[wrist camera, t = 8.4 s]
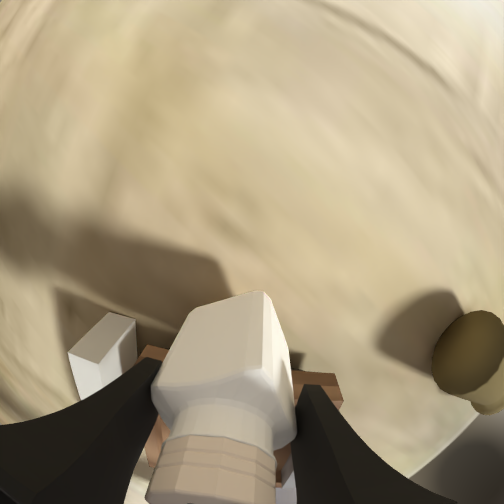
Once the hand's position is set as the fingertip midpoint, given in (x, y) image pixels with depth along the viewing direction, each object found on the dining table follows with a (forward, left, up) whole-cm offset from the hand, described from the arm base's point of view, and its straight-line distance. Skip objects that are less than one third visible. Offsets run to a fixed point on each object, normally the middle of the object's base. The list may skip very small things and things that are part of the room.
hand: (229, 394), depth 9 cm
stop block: (-8, +8, -7) cm, 13 cm away
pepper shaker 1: (0, 0, -5) cm, 5 cm away
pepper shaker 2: (0, -14, -4) cm, 15 cm away
